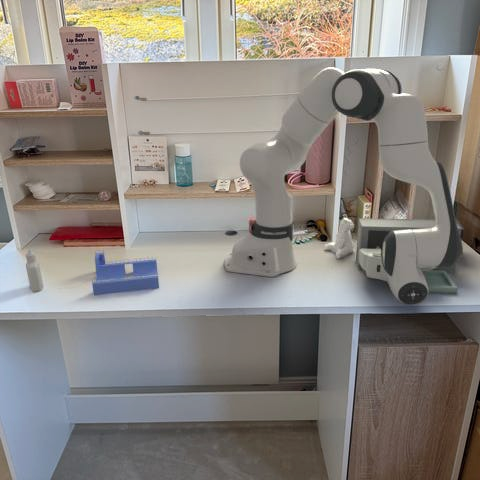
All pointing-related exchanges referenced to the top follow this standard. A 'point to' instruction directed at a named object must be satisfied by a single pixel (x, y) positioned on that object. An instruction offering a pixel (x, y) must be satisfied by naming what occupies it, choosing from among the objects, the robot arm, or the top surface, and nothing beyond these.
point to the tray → (439, 282)
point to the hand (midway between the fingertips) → (390, 248)
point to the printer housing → (378, 229)
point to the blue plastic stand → (118, 271)
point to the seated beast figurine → (342, 240)
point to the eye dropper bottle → (33, 272)
